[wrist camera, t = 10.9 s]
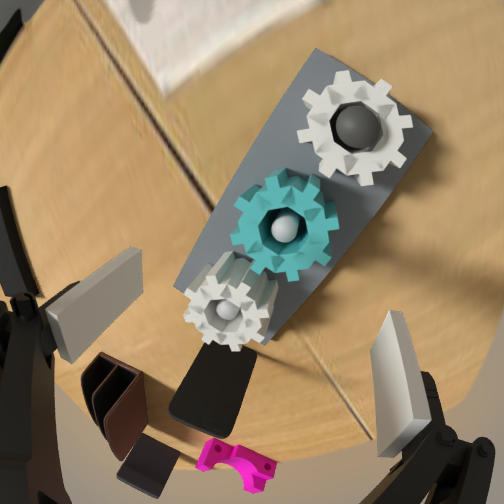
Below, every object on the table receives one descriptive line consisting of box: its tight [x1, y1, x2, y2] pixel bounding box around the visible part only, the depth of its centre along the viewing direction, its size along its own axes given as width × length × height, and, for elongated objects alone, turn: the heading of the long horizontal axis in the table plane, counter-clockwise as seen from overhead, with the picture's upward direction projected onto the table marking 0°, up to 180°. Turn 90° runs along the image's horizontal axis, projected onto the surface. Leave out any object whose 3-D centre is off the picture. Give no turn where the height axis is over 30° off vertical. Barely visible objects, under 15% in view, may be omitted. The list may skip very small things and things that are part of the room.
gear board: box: [173, 48, 433, 351], centre depth 27 cm, size 32×14×9 cm, turn 149°
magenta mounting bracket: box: [195, 438, 277, 494], centre depth 50 cm, size 15×6×8 cm, turn 54°
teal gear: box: [230, 168, 339, 282], centre depth 27 cm, size 9×9×6 cm
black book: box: [0, 186, 39, 297], centre depth 45 cm, size 14×23×3 cm, turn 9°
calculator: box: [117, 433, 180, 499], centre depth 54 cm, size 11×4×15 cm, turn 68°
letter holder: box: [81, 352, 148, 461], centre depth 47 cm, size 10×20×14 cm, turn 168°
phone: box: [168, 340, 257, 439], centre depth 33 cm, size 7×1×15 cm, turn 71°
